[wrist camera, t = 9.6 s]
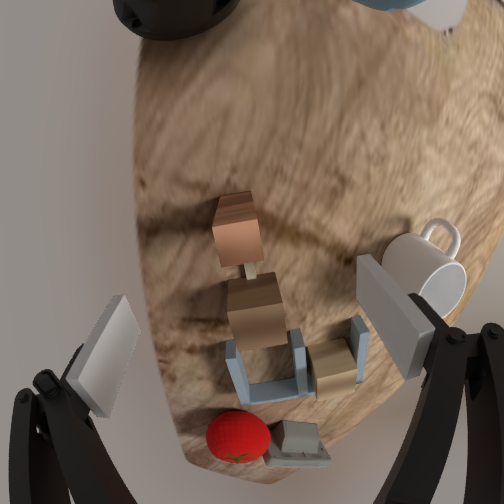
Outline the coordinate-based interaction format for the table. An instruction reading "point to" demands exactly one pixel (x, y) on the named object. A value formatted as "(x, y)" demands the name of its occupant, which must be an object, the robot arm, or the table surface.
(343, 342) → the oak block
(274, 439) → the digital clock
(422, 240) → the cup
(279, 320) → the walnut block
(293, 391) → the lane shelf
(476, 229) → the table surface
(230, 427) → the tomato
